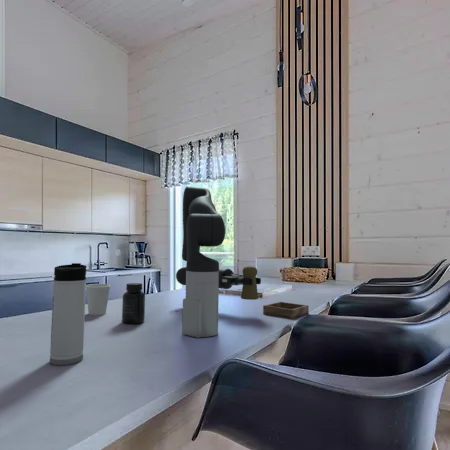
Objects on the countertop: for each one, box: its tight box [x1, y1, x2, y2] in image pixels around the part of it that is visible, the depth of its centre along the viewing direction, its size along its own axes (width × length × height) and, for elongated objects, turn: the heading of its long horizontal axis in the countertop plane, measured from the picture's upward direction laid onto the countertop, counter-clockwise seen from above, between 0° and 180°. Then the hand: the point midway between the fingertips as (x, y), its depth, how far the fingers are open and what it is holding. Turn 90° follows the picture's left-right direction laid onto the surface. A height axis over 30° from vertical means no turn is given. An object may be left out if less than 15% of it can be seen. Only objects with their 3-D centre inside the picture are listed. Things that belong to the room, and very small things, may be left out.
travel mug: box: [49, 262, 87, 366], centre depth 71 cm, size 6×7×20 cm
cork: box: [240, 266, 259, 301], centre depth 118 cm, size 6×6×11 cm
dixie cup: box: [86, 283, 111, 316], centre depth 119 cm, size 8×8×10 cm
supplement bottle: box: [121, 282, 146, 326], centre depth 107 cm, size 7×7×12 cm
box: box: [262, 301, 310, 320], centre depth 123 cm, size 12×12×3 cm
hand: (256, 281), depth 117 cm, fingers closed on cork, 4 cm apart
